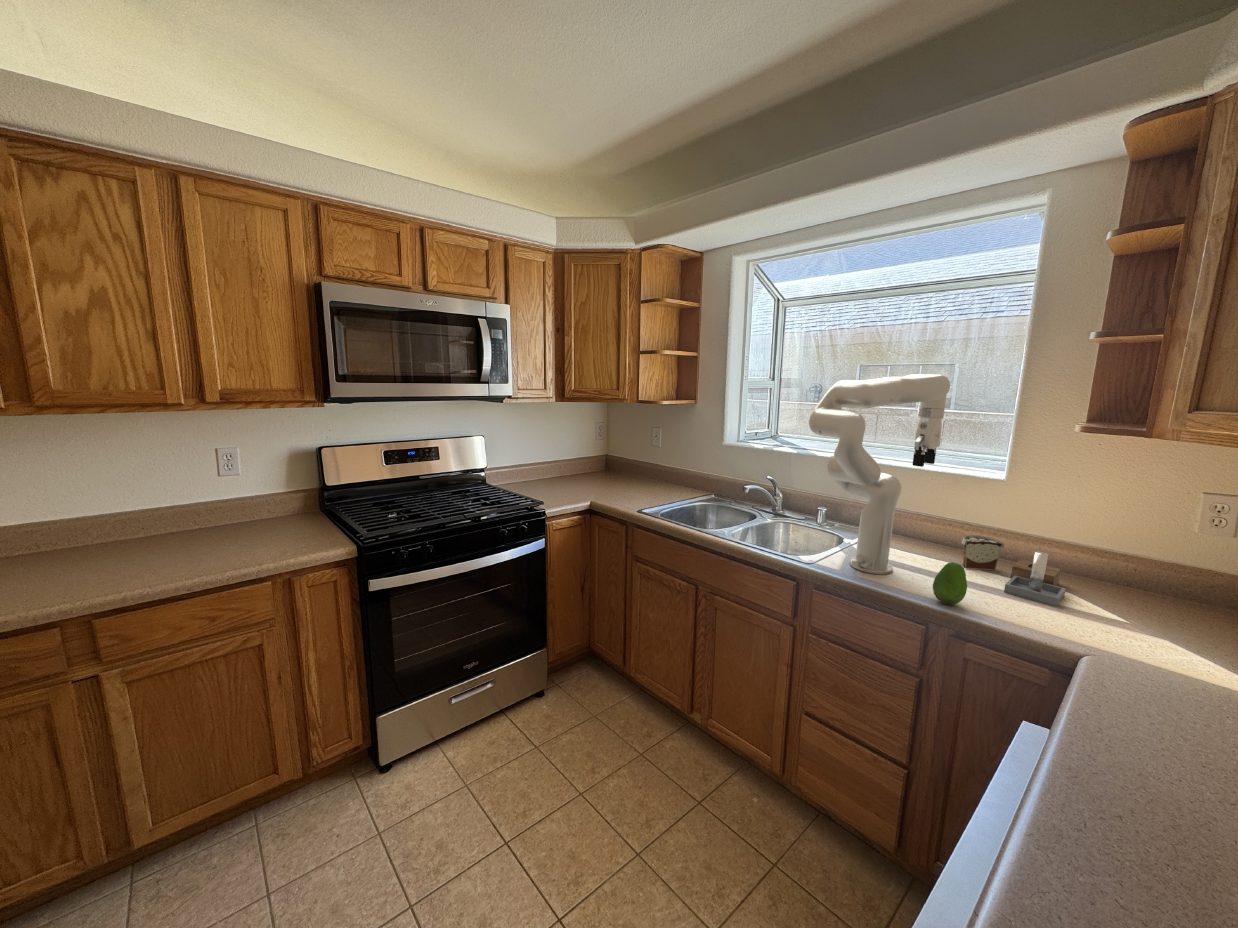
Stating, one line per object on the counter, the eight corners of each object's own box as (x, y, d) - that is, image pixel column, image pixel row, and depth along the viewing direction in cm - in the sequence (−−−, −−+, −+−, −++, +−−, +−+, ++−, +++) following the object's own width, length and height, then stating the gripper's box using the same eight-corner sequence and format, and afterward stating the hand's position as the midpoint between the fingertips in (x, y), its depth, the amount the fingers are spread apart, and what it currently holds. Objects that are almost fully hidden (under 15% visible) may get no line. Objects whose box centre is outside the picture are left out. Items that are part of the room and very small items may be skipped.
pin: (1039, 595, 143) (1047, 555, 141) (1026, 591, 145) (1033, 552, 143) (1041, 592, 145) (1049, 553, 143) (1028, 589, 147) (1036, 550, 145)
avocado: (968, 611, 133) (974, 569, 131) (934, 606, 135) (940, 564, 133) (959, 599, 140) (965, 559, 138) (927, 594, 143) (933, 555, 141)
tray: (1056, 606, 137) (1058, 598, 137) (1003, 592, 146) (1005, 584, 146) (1064, 596, 144) (1065, 588, 144) (1013, 582, 153) (1014, 575, 153)
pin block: (1051, 592, 147) (1054, 576, 146) (1010, 581, 155) (1012, 565, 154) (1058, 583, 153) (1061, 568, 153) (1017, 573, 161) (1020, 559, 160)
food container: (988, 563, 169) (992, 535, 168) (1000, 570, 163) (1005, 541, 162) (950, 561, 171) (954, 533, 169) (960, 568, 165) (965, 539, 163)
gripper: (933, 415, 155) (926, 469, 158) (952, 413, 166) (944, 464, 169) (907, 413, 160) (901, 465, 163) (927, 412, 171) (920, 460, 174)
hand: (923, 464), depth 166 cm, fingers open, 9 cm apart
